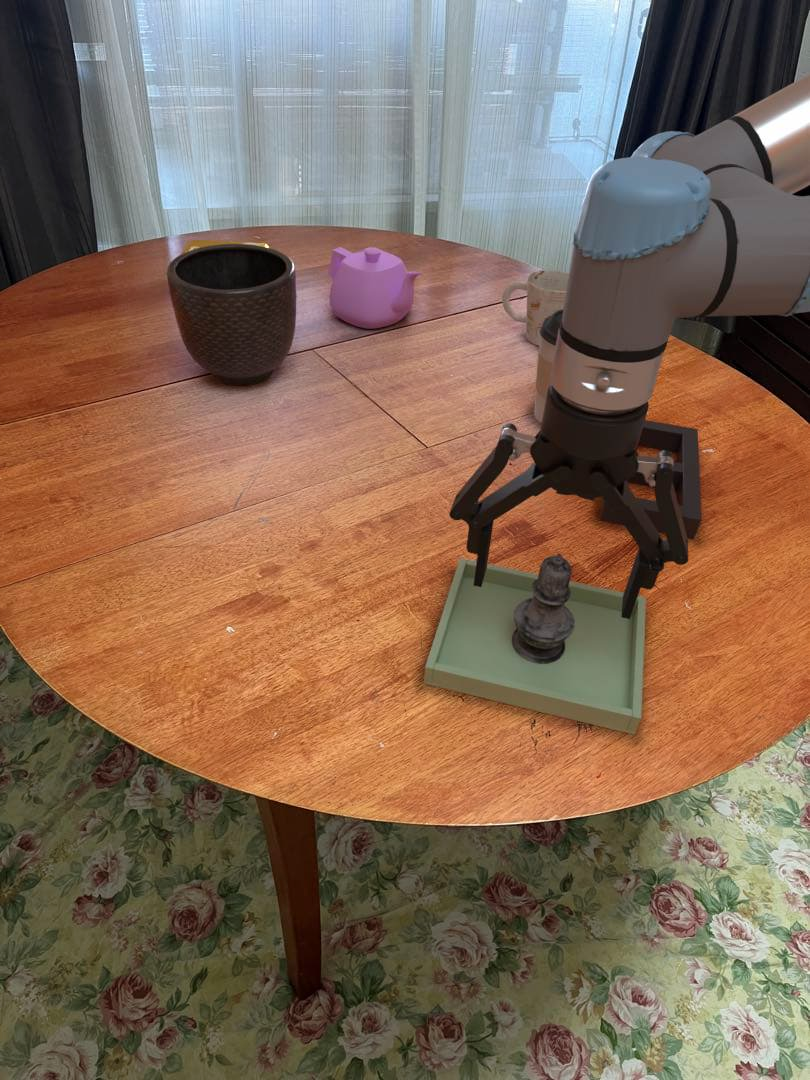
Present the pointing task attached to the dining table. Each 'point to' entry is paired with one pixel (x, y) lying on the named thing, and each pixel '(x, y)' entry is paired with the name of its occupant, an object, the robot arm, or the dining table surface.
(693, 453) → the rack
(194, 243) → the element tile
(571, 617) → the dark grey chess piece
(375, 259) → the teapot
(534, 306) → the mug
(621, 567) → the dining table surface
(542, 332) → the coffee cup
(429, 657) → the tray
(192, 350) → the planter
